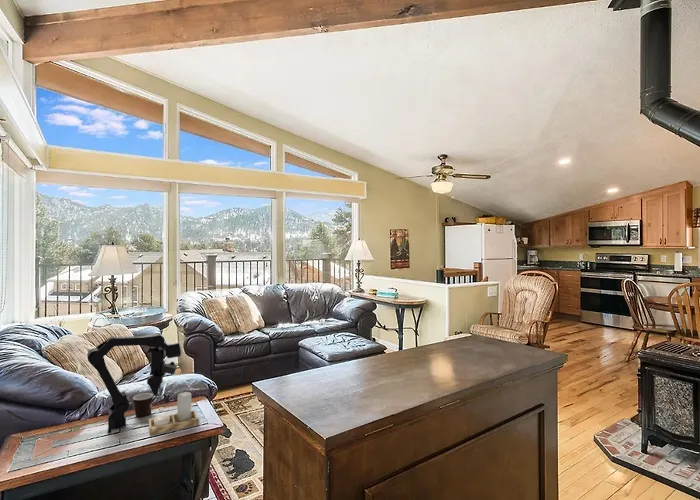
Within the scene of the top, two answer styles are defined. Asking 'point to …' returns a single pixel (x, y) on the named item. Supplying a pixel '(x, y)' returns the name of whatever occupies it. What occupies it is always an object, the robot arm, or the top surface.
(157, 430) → the open wooden box
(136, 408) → the coffee mug
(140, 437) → the top surface
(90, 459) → the top surface
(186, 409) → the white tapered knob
